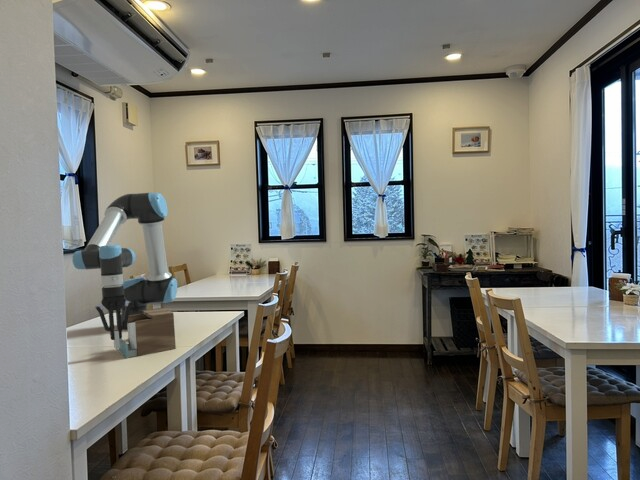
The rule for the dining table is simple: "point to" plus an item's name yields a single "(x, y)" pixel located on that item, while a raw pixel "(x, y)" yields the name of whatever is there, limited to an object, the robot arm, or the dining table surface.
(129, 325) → the white cup
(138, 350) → the wooden drawer box
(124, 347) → the teal drawer
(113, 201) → the robot arm
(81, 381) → the dining table surface
